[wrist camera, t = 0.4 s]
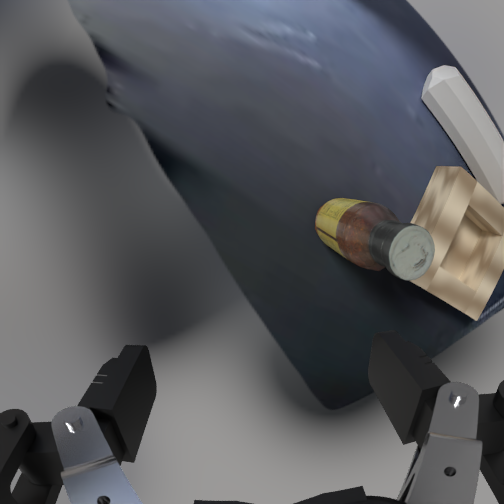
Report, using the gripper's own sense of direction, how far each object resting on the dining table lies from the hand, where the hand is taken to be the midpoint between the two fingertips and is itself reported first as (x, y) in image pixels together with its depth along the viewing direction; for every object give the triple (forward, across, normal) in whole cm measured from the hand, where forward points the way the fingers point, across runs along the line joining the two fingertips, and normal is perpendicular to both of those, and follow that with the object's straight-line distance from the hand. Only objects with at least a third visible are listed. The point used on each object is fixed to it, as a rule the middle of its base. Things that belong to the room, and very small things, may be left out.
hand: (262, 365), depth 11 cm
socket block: (+30, -30, +3) cm, 42 cm away
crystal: (+31, -34, -12) cm, 47 cm away
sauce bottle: (+30, -11, 0) cm, 32 cm away
